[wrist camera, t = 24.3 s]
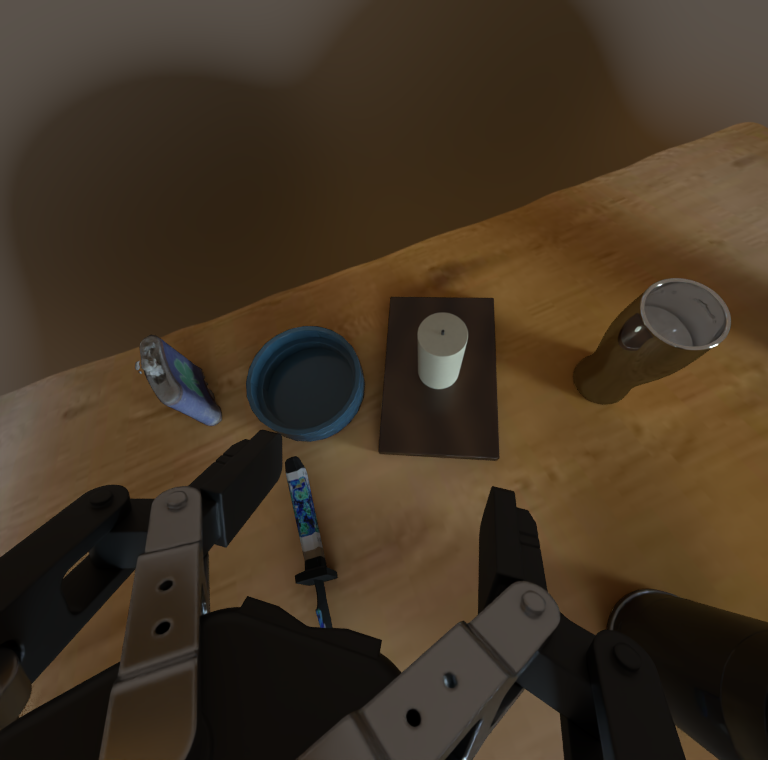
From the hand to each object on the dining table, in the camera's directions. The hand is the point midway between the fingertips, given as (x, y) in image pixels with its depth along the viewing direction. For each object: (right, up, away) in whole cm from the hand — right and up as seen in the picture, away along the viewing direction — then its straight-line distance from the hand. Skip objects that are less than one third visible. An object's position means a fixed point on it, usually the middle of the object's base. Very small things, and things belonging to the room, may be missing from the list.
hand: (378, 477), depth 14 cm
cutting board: (+7, +4, +32) cm, 33 cm away
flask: (-23, +2, +34) cm, 41 cm away
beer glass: (+25, +4, +30) cm, 39 cm away
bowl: (-9, +2, +33) cm, 34 cm away
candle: (+7, +5, +30) cm, 31 cm away
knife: (-5, -20, +24) cm, 31 cm away
